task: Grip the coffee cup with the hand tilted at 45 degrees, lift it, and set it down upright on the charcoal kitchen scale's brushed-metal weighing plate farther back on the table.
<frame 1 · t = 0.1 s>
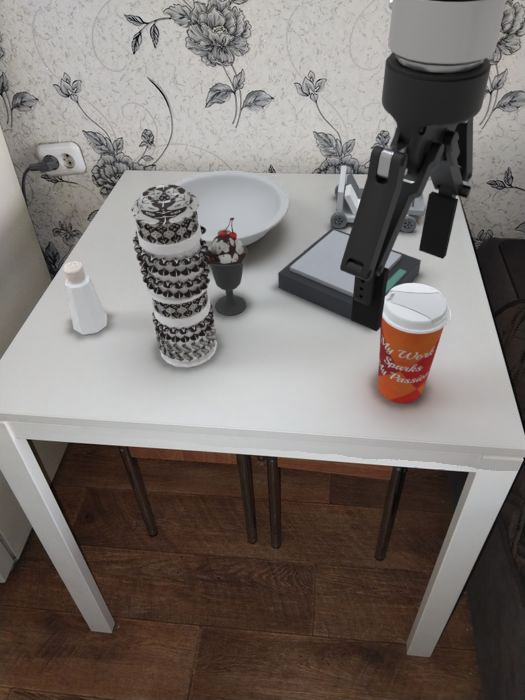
hand: (401, 286, 58), 24 cm above the table, tool pointing down, fingers open, 13 cm apart
scale: (348, 281, 97), on the table
pepper shaker: (91, 324, 92), on the table
toy car: (380, 215, 111), on the table
sundae: (230, 306, 94), on the table
decorative candle: (188, 347, 87), on the table
coffee cup: (400, 388, 80), on the table
white bowl: (224, 235, 108), on the table
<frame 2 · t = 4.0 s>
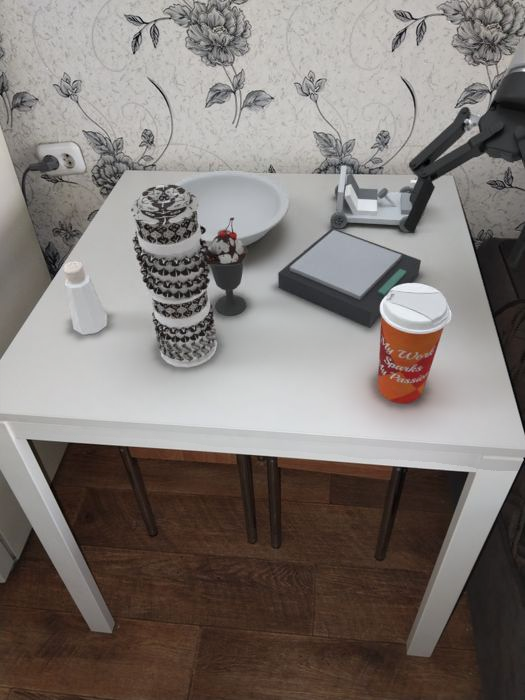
hand: (457, 246, 74), 17 cm above the table, tool tilted 45°, fingers open, 13 cm apart
nothing on the table moved.
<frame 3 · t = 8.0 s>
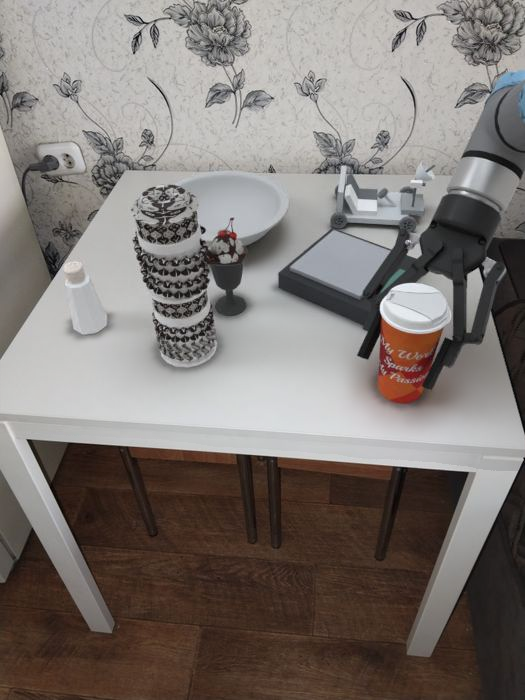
hand: (393, 372, 74), 6 cm above the table, tool tilted 45°, fingers closed on coffee cup, 8 cm apart
coffee cup: (400, 388, 80), on the table, touching gripper
everything else where it was.
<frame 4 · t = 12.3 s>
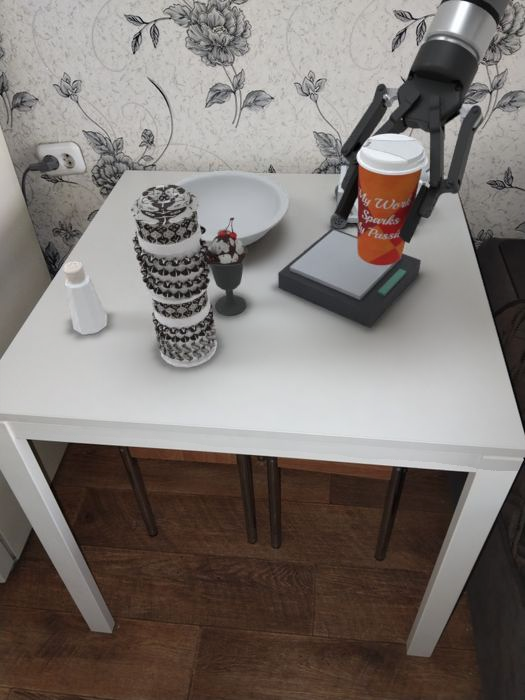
hand: (371, 227, 74), 19 cm above the table, tool tilted 45°, fingers closed on coffee cup, 8 cm apart
coffee cup: (379, 253, 80), point 13 cm above the table, touching gripper
everything else where it was.
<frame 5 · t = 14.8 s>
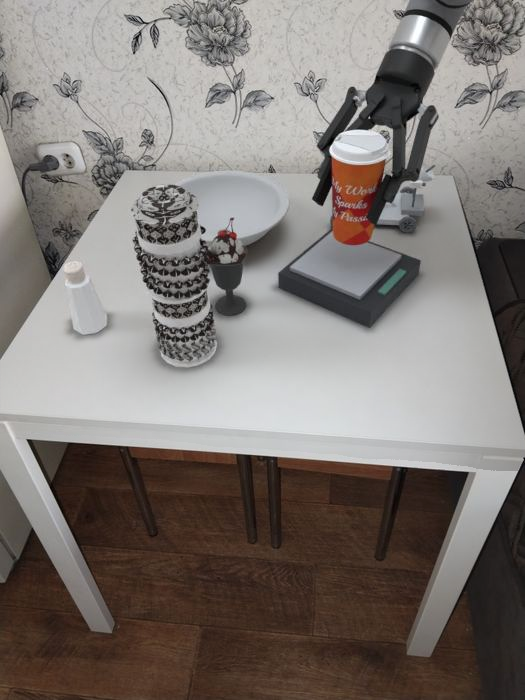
hand: (343, 211, 85), 15 cm above the table, tool tilted 45°, fingers closed on coffee cup, 8 cm apart
coffee cup: (352, 235, 91), point 9 cm above the table, touching gripper
everything else where it was.
when the fingers open (9 cm above the table, at t = 16.8 s): coffee cup stays where it is, resting on scale.
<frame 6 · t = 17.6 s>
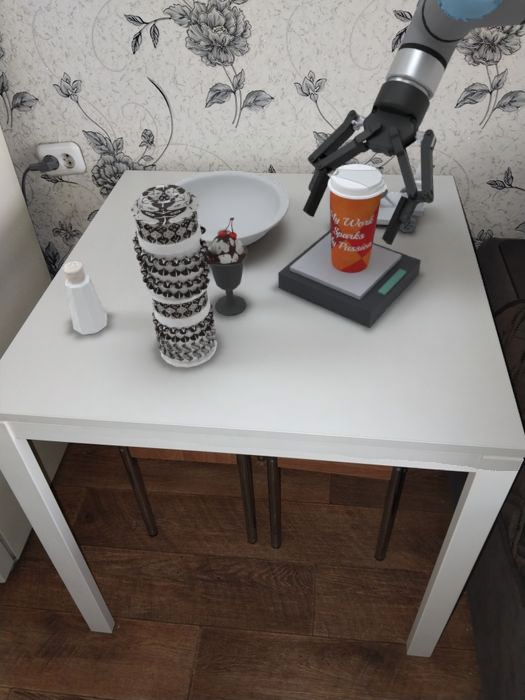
hand: (345, 227, 88), 11 cm above the table, tool tilted 45°, fingers open, 13 cm apart
coffee cup: (350, 263, 94), point 4 cm above the table, touching scale
everything else where it was.
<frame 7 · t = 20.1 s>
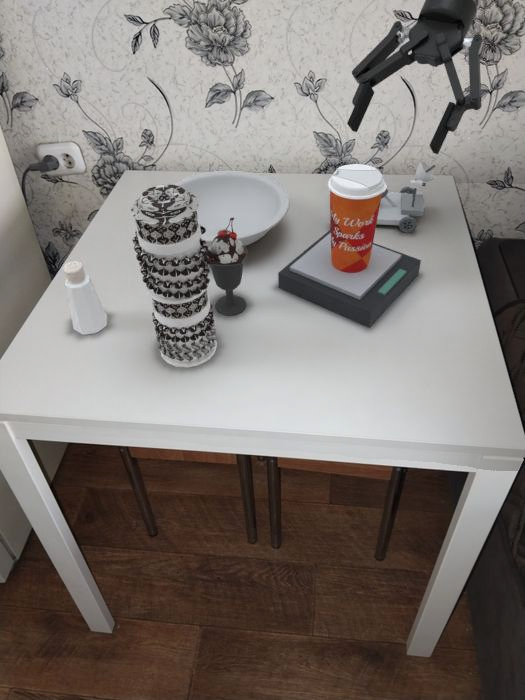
hand: (391, 138, 88), 21 cm above the table, tool tilted 45°, fingers open, 13 cm apart
nothing on the table moved.
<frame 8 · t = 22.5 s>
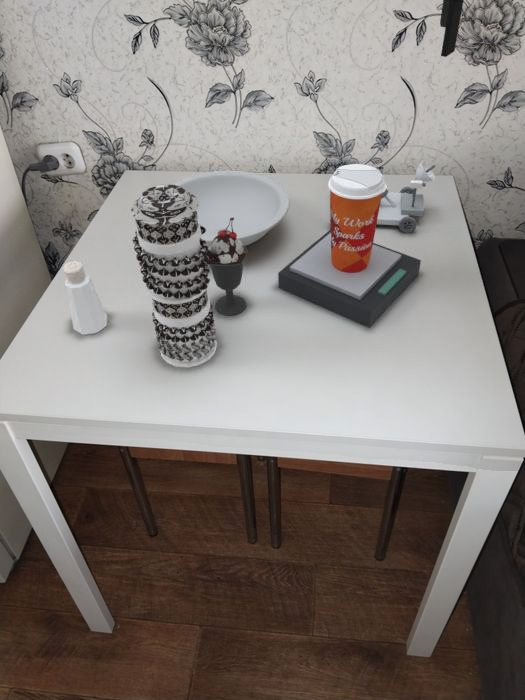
hand: (495, 63, 78), 32 cm above the table, tool pointing down, fingers open, 13 cm apart
nothing on the table moved.
at the end: coffee cup inside the target area on the scale (0.8 cm from its centre), point 3.6 cm above the scale's base; coffee cup tilted 0°; the gripper is holding nothing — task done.
